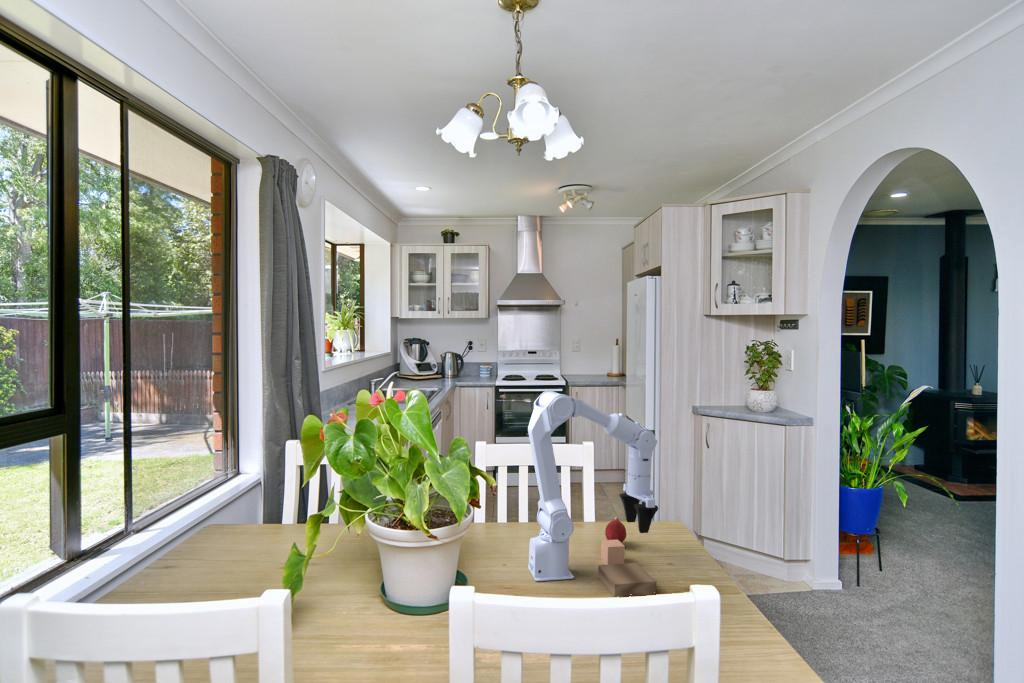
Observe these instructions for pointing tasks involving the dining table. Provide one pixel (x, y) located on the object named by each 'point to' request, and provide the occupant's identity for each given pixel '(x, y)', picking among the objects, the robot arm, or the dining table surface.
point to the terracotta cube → (612, 552)
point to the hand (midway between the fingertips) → (637, 527)
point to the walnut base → (626, 579)
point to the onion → (615, 530)
